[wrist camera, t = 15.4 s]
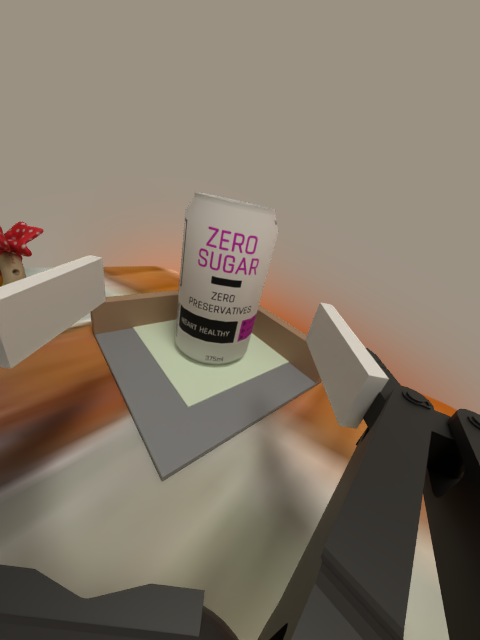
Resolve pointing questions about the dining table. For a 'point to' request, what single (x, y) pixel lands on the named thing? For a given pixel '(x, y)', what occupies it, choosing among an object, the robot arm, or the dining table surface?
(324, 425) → the dining table surface
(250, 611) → the dining table surface
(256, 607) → the dining table surface
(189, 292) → the supplement can
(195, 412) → the corner arena
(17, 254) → the bird rattle
